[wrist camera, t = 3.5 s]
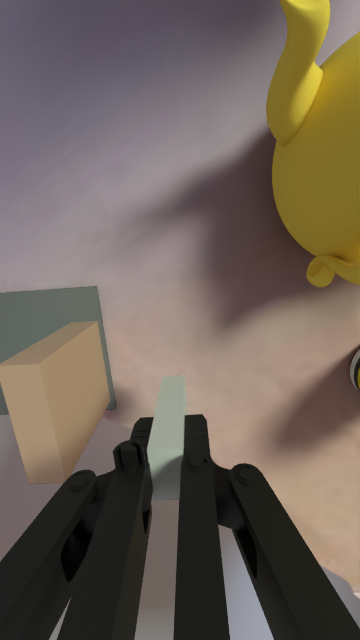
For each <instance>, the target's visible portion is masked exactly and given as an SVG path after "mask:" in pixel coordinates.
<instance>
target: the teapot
mask: <svg viewBox="0 0 360 640" xmlns="http://www.w3.org/2000/svg"><path fill="white" fill-rule="evenodd" d="M279 1H280V4H281V6H282V8H283V11H284V13H285V15H286V20H287V27H288V32H287V41H286V44H285V47H284V50H283V52H282V55H281V57H280V59H279V62H278V64H277V67H276V69H275V72H274V75H273V77H272V80H271V84H270V87H269V91H268V97H267V105H266V112H267V122H268V125H269V127H270V130H271V132H272V134H273V136H274V137H275V138H276V140H277V141H276V146H275V150H274V155H273V164H272V186H273V193H274V199H275V203H276V206H277V210H278V212H279V215H280V217H281V219H282V221H283V223H284V225H285V227H286V228H287V230H288V232H289V233H290V234H291V235H292V237H293V238H294V239H295V240H296V241H297V242H298V243H299V244H300V245H301V246H302V247H303V248H304V249H306V250H307V251H309V252H310V253H311V254H313V255H314V256H316V257H315V258H314V259H313V260H312V261H311V262H310V264H309V266H308V269H307V273H306V277H307V280H308V281H309V282H310V283H311V284H312V285H314V286H317V287H325V286H327V285H328V284H330V283H331V281H332V280H333V278H334V276H335V273H336V274H338V275H339V276H340V277H342V278H343V279H345V280H347V281H349V282H351V283H354V284H357V285H360V32H358V33H357V34H356V35H354V36H353V37H352V38H351V39H349V40H348V41H347V42H346V43H344V44H343V45H342V46H341V47H339V48H338V49H337V50H336V51H335V52H334V53H333V54H332V55H331V56H330V57H329V58H328V59H327V60H326V61H325V62H324V63H323V64H322V65H321V66H320V67H318V66H317V65H316V63H315V62H314V60H315V58H316V56H317V54H318V52H319V50H320V48H321V46H322V44H323V41H324V38H325V36H326V33H327V29H328V25H329V19H330V2H329V0H279Z"/></svg>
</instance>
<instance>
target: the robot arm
mask: <svg viewBox="0 0 360 640" xmlns="http://www.w3.org/2000/svg"><path fill="white" fill-rule="evenodd" d="M113 455H114V461H115V467H116V468H115V469H114V470H113V471H111V472H108V473H106V474H103V475H100V476H96V475H95V473H94V472H93V471H91V470H81V471H78V472H76V473H74V474H73V475H71V476H70V477H69V478H68V479H67V480H66V481H65V482H64V483H63V485H62V486H61V487H60V489H59V490H58V491H57V492H56V493H55V495H54V496H53V497H52V498H51V500H50V501H49V502H48V503H47V505H46V506H45V507H44V508H43V510H42V511H41V512H40V513H39V514H38V516H37V517H36V519H34V521H33V522H32V523H31V524H30V526H29V527H28V528H27V529H26V531H25V532H24V533H23V534H22V536H21V537H20V538H19V539H18V541H17V542H16V543H15V544H14V546H13V547H12V548H11V549H10V551H9V552H8V553H7V554H6V556H5V557H4V558H3V559H2V560H1V562H0V640H49V638H50V636H51V634H52V632H53V631H54V629H55V627H56V625H57V623H58V621H59V619H60V617H61V615H62V613H63V611H64V609H65V608H66V606H67V604H68V602H69V600H70V598H71V600H70V603H69V605H68V609H67V611H66V614H65V617H64V620H63V623H62V626H61V629H60V632H59V635H58V638H57V640H134V638H135V631H136V623H137V616H138V609H139V602H140V595H141V587H142V581H143V574H144V566H145V560H146V551H147V545H148V538H149V531H150V524H151V517H152V508H151V507H152V506H151V499H152V493H153V500H154V501H158V500H179V521H178V546H177V570H176V594H175V616H174V640H230V634H229V625H228V615H227V606H226V596H225V587H224V577H223V567H222V558H221V548H220V538H219V529H218V524H219V525H222V526H225V527H228V528H231V529H232V531H233V533H234V537H235V539H236V542H237V545H238V547H239V550H240V552H241V555H242V558H243V560H244V563H245V565H246V568H247V571H248V573H249V576H250V578H251V581H252V584H253V586H254V589H255V591H256V594H257V597H258V599H259V602H260V604H261V607H262V609H263V612H264V615H265V617H266V620H267V622H268V625H269V628H270V630H271V633H272V635H273V638H274V640H360V629H359V627H358V625H357V624H356V622H355V621H354V619H353V618H352V616H351V614H350V613H349V611H348V610H347V608H346V606H345V605H344V603H343V602H342V600H341V599H340V597H339V595H338V594H337V592H336V590H335V589H334V587H333V586H332V584H331V582H330V581H329V579H328V578H327V576H326V574H325V573H324V571H323V570H322V568H321V567H320V565H319V563H318V562H317V560H316V559H315V557H314V555H313V554H312V552H311V551H310V549H309V547H308V546H307V544H306V543H305V541H304V539H303V538H302V536H301V535H300V533H299V531H298V530H297V528H296V527H295V525H294V524H293V522H292V520H291V519H290V517H289V516H288V514H287V512H286V511H285V509H284V508H283V506H282V504H281V503H280V501H279V500H278V498H277V496H276V495H275V493H274V492H273V490H272V489H271V487H270V485H269V484H268V482H267V481H266V479H265V477H264V476H263V474H262V473H261V472H260V470H259V469H258V468H256V467H255V466H253V465H250V464H246V463H244V464H238V465H235V466H234V467H233V468H232V469H231V470H229V469H225V468H222V467H220V466H218V465H216V464H215V463H214V462H213V460H212V459H211V455H210V448H209V438H208V429H207V420H206V419H205V417H204V416H203V415H202V414H198V415H188V410H187V397H186V384H185V375H183V376H164V377H162V382H161V387H160V391H159V396H158V401H157V405H156V410H155V414H154V417H146V418H140V419H139V420H138V421H137V422H136V423H135V424H134V428H133V431H132V434H131V438H130V440H128V441H124V442H122V443H120V444H119V445H118V446H116V447H115V449H114V451H113ZM71 596H72V597H71Z"/></svg>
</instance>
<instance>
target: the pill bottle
mask: <svg viewBox="0 0 360 640" xmlns="http://www.w3.org/2000/svg"><path fill="white" fill-rule="evenodd" d="M350 378H351V381H352V383H353V385H354V386H355V388H356V389H357V390H358V391H359V392H360V349H359V350H358V352H357V353H356V354H355V356H354V358H353V360H352V363H351V366H350Z"/></svg>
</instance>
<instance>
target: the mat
mask: <svg viewBox="0 0 360 640" xmlns="http://www.w3.org/2000/svg"><path fill="white" fill-rule="evenodd" d="M87 321H97V322H98V328H99V334H100V340H101V346H102V352H103V358H104V365H105V371H106V377H107V383H108V389H109V395H110V402H109V404H108V406H107V408H106V410H115V408H116V404H115V397H114V391H113V385H112V378H111V372H110V366H109V359H108V353H107V347H106V340H105V334H104V328H103V321H102V315H101V309H100V302H99V296H98V290H97V286H93V287H79V288H65V289H51V290H37V291H23V292H9V293H0V364H1V363H2V362H4V361H6V360H8V359H9V358H11V357H13V356H14V355H16V354H18V353H20V352H21V351H23V350H25V349H26V348H28V347H30V346H32V345H33V344H35V343H37V342H38V341H40V340H42V339H44V338H45V337H47V336H49V335H50V334H52V333H54V332H56V331H57V330H59V329H61V328H62V327H64V326H66V325H68V324H69V323H72V322H87ZM7 414H9V411H8V408H7V404H6V401H5V397H4V394H3V390H2V387H1V383H0V415H7Z"/></svg>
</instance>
